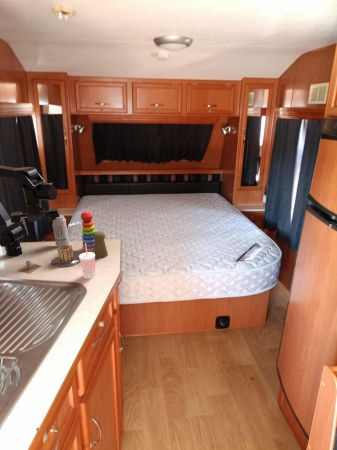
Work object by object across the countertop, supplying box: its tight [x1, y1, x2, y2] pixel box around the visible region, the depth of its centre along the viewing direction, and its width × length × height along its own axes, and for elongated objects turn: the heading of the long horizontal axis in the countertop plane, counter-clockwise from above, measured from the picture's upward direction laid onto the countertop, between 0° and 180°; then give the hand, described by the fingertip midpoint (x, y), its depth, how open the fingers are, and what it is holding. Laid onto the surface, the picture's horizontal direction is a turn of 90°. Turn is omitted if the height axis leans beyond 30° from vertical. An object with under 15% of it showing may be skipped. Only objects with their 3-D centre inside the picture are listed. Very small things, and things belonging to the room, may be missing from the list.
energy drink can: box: [52, 214, 70, 248], centre depth 154 cm, size 6×6×15 cm
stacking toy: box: [80, 210, 97, 253], centre depth 149 cm, size 8×8×19 cm
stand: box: [16, 260, 42, 275], centre depth 134 cm, size 7×7×4 cm
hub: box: [50, 253, 81, 269], centre depth 140 cm, size 13×13×6 cm
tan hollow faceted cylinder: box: [56, 244, 74, 264], centre depth 139 cm, size 6×6×6 cm
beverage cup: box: [78, 243, 96, 279], centre depth 127 cm, size 6×6×14 cm
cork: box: [93, 231, 109, 259], centre depth 144 cm, size 6×6×11 cm
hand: (39, 233), depth 140 cm, fingers open, 9 cm apart
